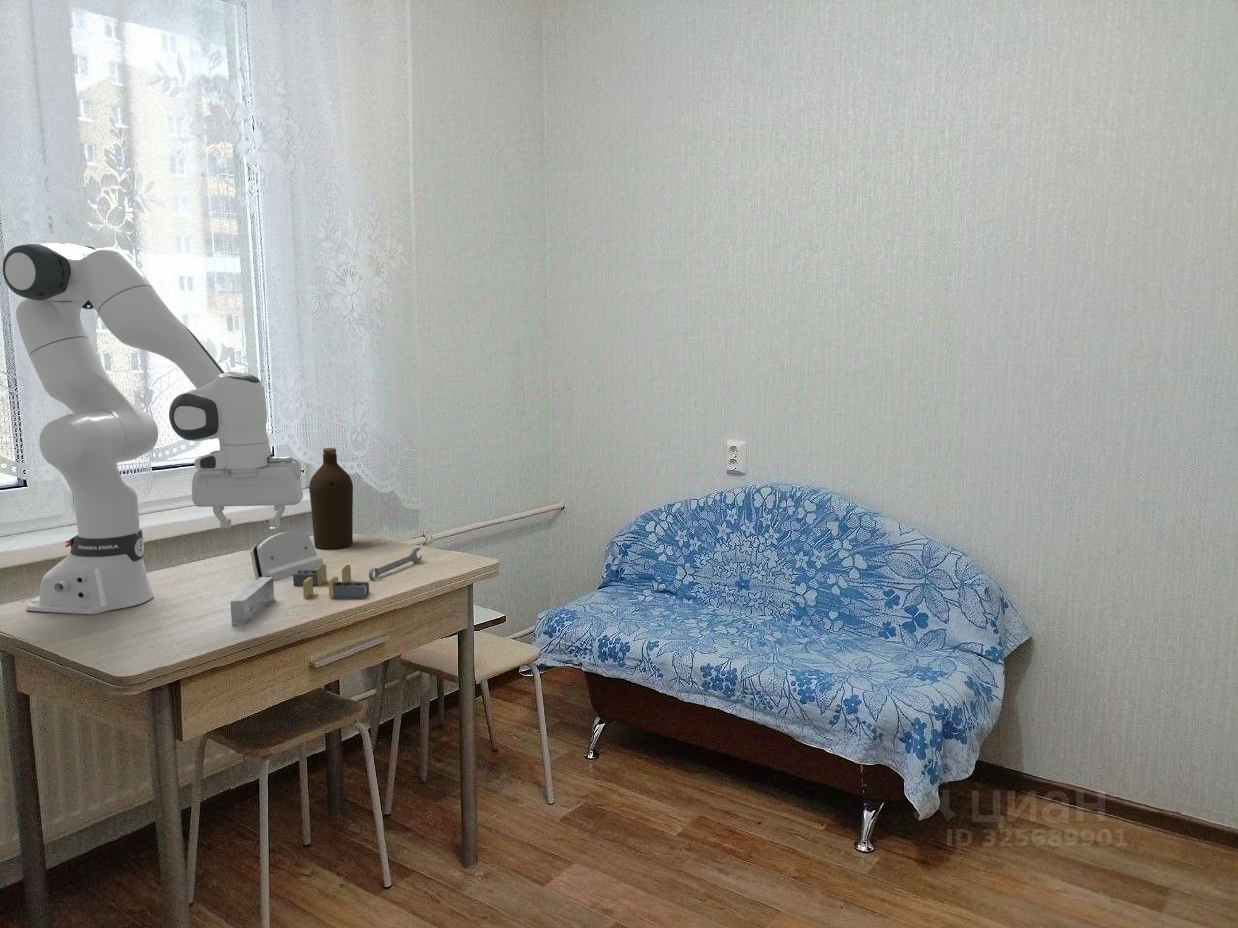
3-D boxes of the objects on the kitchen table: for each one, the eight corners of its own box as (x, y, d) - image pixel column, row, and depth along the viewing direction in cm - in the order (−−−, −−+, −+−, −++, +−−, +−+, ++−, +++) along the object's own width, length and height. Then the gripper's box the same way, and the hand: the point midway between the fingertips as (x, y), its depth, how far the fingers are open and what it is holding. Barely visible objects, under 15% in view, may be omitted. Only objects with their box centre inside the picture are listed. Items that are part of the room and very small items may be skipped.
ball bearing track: (278, 598, 194) (277, 582, 194) (299, 580, 208) (298, 565, 208) (364, 598, 195) (364, 581, 194) (380, 580, 208) (379, 564, 208)
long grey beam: (231, 626, 177) (230, 600, 176) (261, 600, 194) (260, 577, 193) (245, 626, 177) (244, 600, 176) (274, 600, 194) (273, 576, 193)
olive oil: (363, 544, 242) (359, 448, 239) (327, 552, 234) (322, 452, 231) (340, 538, 249) (335, 444, 245) (303, 545, 241) (299, 448, 237)
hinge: (271, 581, 207) (257, 538, 207) (256, 586, 209) (243, 543, 209) (325, 564, 222) (312, 524, 222) (311, 569, 224) (298, 529, 224)
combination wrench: (371, 567, 207) (424, 546, 225) (366, 567, 208) (419, 545, 226) (372, 584, 208) (425, 561, 226) (367, 583, 208) (420, 560, 227)
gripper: (305, 454, 184) (309, 523, 186) (199, 456, 184) (204, 525, 186) (294, 458, 178) (299, 530, 180) (185, 460, 177) (191, 532, 179)
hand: (250, 528), depth 183 cm, fingers open, 8 cm apart
